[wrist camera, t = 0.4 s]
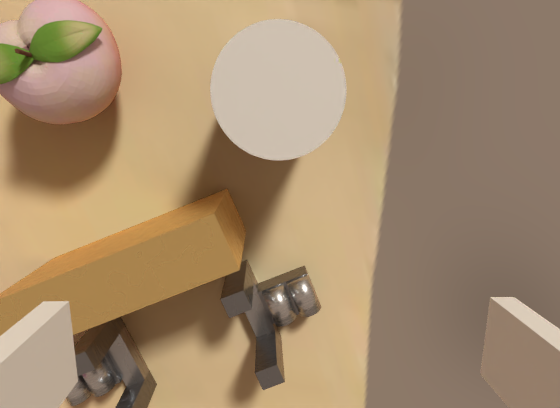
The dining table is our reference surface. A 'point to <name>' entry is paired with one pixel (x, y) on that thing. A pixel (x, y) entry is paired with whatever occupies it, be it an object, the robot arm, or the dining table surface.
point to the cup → (278, 89)
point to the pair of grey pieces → (236, 299)
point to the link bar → (135, 265)
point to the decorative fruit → (59, 62)
